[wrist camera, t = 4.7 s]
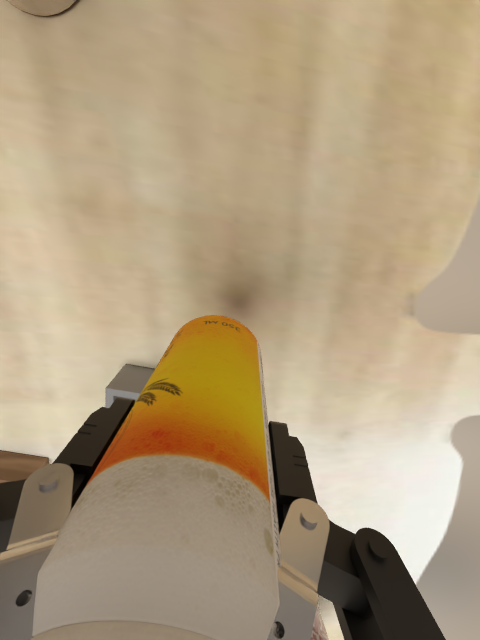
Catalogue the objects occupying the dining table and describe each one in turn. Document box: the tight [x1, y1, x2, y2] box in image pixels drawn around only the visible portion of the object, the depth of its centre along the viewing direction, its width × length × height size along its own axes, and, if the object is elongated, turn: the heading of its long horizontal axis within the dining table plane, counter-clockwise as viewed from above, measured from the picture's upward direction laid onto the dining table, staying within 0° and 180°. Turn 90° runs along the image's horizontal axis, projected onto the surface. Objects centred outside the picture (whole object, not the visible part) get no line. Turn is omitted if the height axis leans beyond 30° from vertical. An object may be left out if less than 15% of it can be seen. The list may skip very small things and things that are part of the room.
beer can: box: [24, 315, 281, 640], centre depth 12 cm, size 6×6×15 cm
